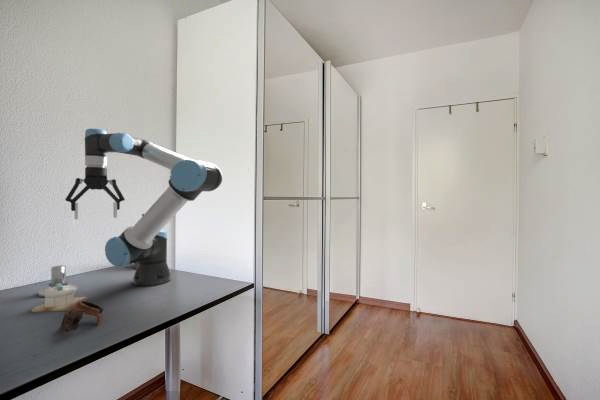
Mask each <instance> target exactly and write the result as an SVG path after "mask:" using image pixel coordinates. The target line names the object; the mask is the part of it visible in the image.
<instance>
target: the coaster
mask: <svg viewBox="0 0 600 400" xmlns="http://www.w3.org/2000/svg"><path fill="white" fill-rule="evenodd" d="M87 300H88V296H74V302H72V303H70V304H67V305H63V306H58V307H45V302H44V303H41V304H40V305H38V306H35V307H33V308H31V313H32V312H34V313H35V312H58V311H59V312H60V311H62V312H64V311H68V310H69V308H71V307H72V306H74V305H77V304H78V302H79V301H87Z"/></svg>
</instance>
